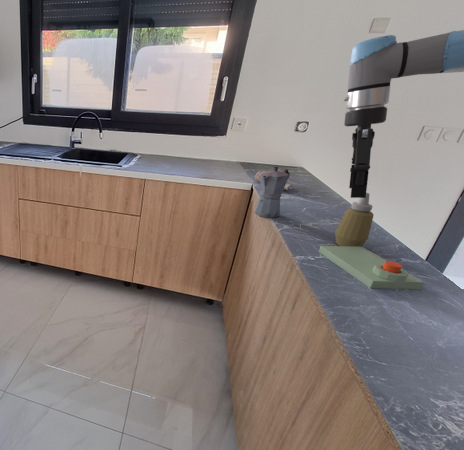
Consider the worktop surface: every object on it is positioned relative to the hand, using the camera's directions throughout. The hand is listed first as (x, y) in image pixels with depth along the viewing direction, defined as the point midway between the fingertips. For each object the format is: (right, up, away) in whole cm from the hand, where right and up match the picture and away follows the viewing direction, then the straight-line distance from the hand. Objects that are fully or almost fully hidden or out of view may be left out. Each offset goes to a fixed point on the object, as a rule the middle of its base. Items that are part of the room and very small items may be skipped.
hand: (356, 192), depth 82 cm
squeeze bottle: (+16, -16, +20) cm, 30 cm away
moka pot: (+7, -4, +48) cm, 48 cm away
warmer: (+8, -21, +7) cm, 24 cm away
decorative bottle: (+33, +11, +82) cm, 89 cm away
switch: (+8, -21, -1) cm, 22 cm away
